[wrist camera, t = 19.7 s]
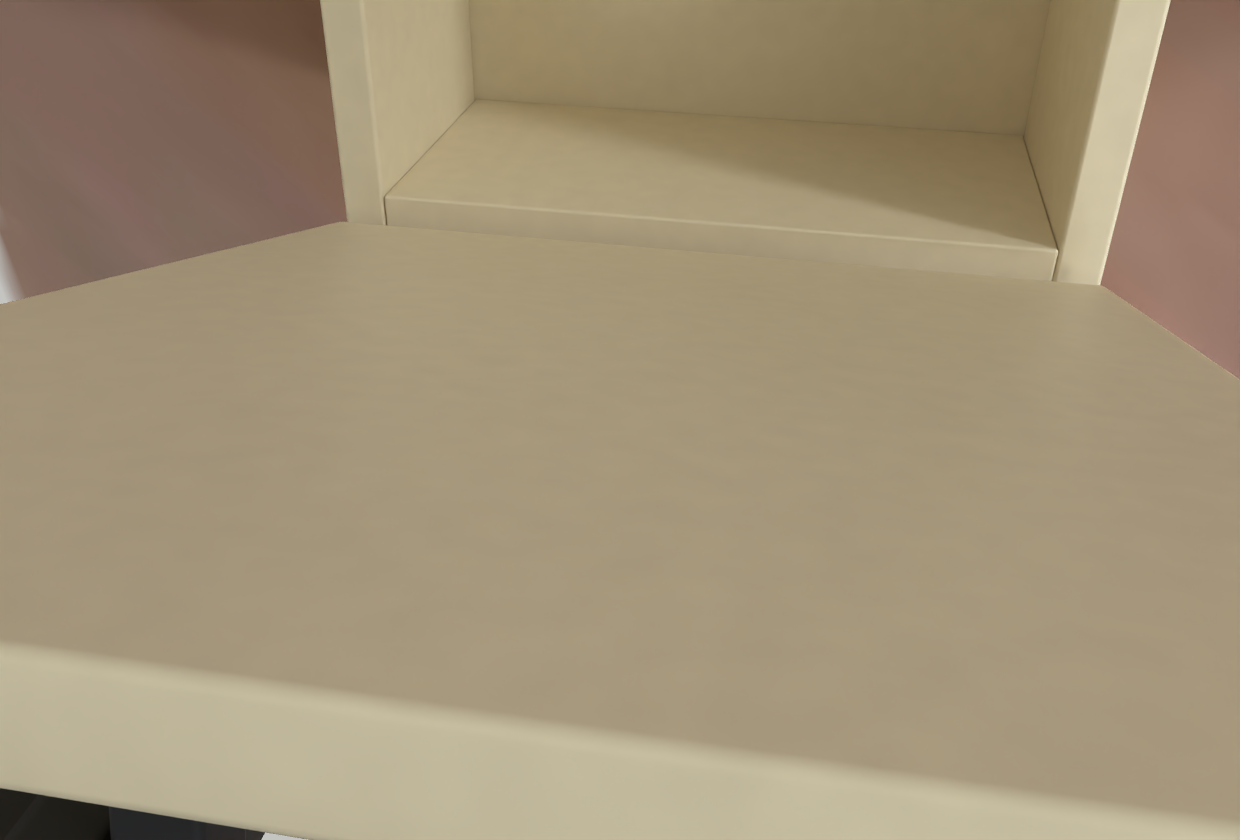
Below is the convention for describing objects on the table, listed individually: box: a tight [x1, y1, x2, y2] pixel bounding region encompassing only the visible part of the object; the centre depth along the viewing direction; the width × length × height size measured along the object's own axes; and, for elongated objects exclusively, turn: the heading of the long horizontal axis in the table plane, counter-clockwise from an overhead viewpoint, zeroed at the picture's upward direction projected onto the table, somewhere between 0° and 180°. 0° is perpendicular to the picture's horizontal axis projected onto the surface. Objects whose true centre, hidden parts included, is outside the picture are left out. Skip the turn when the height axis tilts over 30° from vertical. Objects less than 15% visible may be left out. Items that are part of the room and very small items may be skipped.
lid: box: [0, 222, 1240, 840], centre depth 14 cm, size 16×14×5 cm
